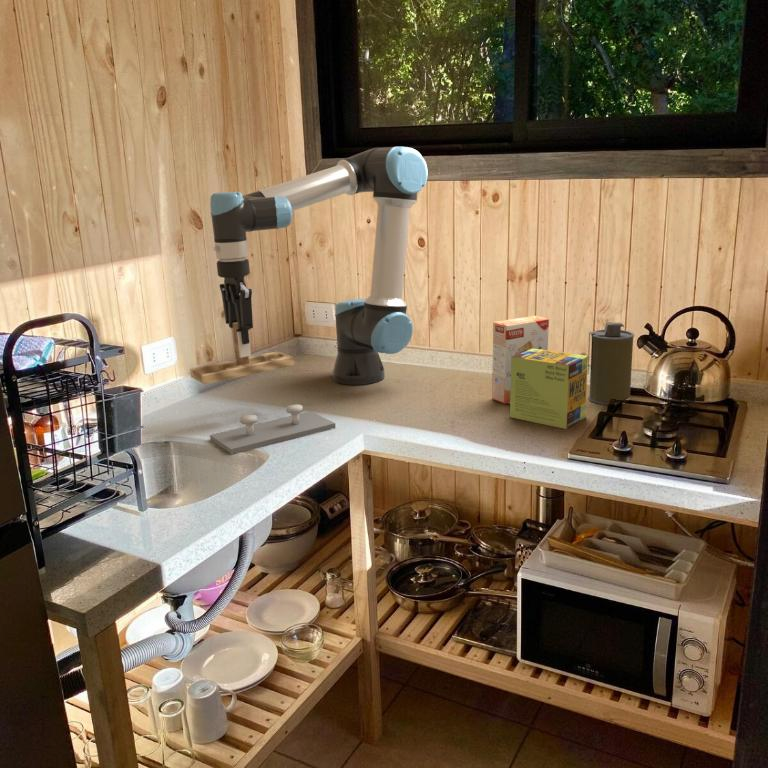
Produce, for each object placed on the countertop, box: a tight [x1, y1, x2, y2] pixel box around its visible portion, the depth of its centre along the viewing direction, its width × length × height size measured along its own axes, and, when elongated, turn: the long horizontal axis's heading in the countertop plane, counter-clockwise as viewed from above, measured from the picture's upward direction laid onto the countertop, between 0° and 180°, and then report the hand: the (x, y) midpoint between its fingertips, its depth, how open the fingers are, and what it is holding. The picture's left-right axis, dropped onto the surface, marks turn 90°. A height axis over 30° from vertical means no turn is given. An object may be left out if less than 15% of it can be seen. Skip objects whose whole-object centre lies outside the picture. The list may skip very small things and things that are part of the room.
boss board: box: [209, 404, 336, 455], centre depth 189 cm, size 27×12×5 cm, turn 125°
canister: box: [587, 321, 635, 406], centre depth 203 cm, size 11×10×20 cm
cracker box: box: [491, 315, 550, 405], centre depth 207 cm, size 14×6×21 cm, turn 119°
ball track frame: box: [189, 322, 296, 385], centre depth 195 cm, size 24×9×12 cm, turn 125°
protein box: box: [509, 349, 588, 430], centre depth 192 cm, size 10×15×16 cm
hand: (242, 354), depth 196 cm, fingers closed on ball track frame, 3 cm apart
